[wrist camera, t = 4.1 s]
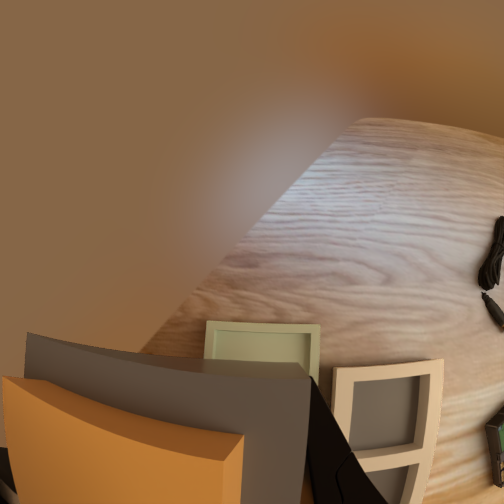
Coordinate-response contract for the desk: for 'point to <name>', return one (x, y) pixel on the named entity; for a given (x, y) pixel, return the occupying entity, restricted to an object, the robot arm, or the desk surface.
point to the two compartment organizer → (391, 422)
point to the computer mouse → (493, 271)
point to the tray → (265, 343)
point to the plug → (154, 428)
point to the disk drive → (496, 446)
